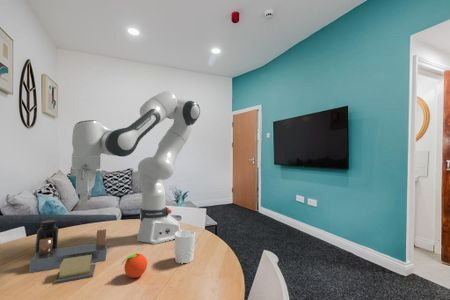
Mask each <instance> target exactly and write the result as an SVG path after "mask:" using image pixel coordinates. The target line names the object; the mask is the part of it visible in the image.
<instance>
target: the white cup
mask: <svg viewBox="0 0 450 300" xmlns="http://www.w3.org/2000/svg"><path fill="white" fill-rule="evenodd" d="M195 244H196V232H195V231H194V230H192V229H191V230H190V229H182V230H181V231H177V232H176V233H175V240H174V254H175V255H174V256H175V258H174V259H175V263H177V264H180V263H181V264H180V265H184V264H183V263H187V264H190V263H191V261H192V260H194V253H195V246H196V245H195ZM189 262H190V263H189ZM192 262H193V261H192Z"/></svg>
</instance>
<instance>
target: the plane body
mask: <svg viewBox="0 0 450 300" xmlns="http://www.w3.org/2000/svg"><path fill="white" fill-rule="evenodd" d="M106 239H107V229H106V228H105V229H98V230H97V231H96V242H95V243H90V244H89V243H88V244H80V245H72V246H66V247H57V248H56V249H52V244H53V238H44V239H41V240H40V242H39V251H38V252H37V253H35V254H34V255H33V257H31V259H30V260H29V273H35V272H37V273H38V272H41V271H42V272H43V271H48V270H54V269H60V265H61V263H62V261H63V259H65V258H72V257H79V256H86V255H92V264H94V263H98V262H105V261H106V259H107V254H108V241H107V240H106Z"/></svg>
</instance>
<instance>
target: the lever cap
mask: <svg viewBox="0 0 450 300" xmlns="http://www.w3.org/2000/svg"><path fill="white" fill-rule="evenodd" d="M92 264H93V263H92V255H86V256H79V257H72V258H65V259H63V261H62V263H61V265H60V268H59V272H60V273H59V272H58V274H59V279H61V278H66V277H72V276H77V275H83V274H89V273H90V270H91V265H92Z"/></svg>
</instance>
